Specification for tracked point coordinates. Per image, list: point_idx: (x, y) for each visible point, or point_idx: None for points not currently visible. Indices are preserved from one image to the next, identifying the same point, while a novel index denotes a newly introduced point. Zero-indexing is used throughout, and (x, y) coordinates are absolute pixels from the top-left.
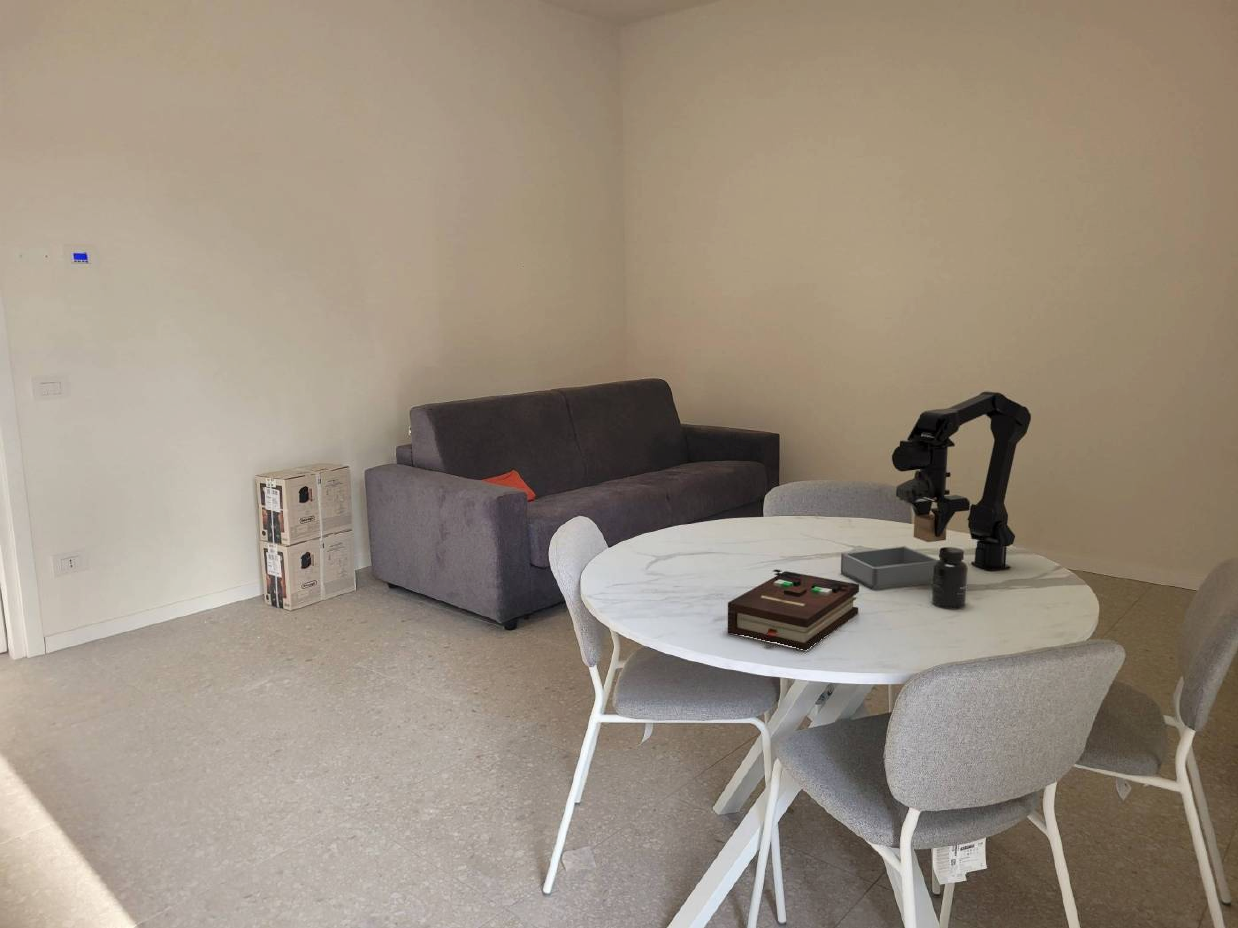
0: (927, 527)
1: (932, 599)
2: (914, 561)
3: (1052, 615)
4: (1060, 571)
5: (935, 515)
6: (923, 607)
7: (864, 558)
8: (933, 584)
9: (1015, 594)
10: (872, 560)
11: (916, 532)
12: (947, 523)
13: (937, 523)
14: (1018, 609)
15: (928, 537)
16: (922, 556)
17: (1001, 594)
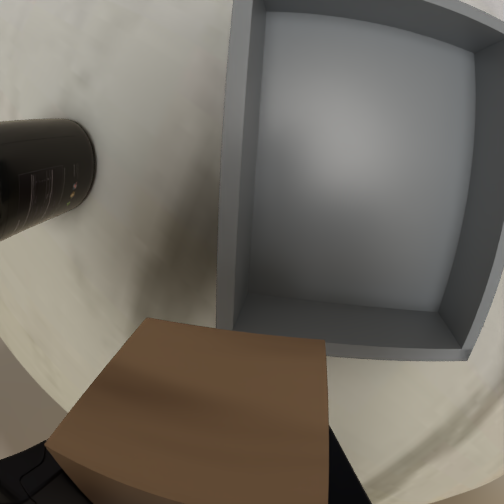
0: (97, 398)
1: (67, 120)
2: (380, 321)
3: (4, 310)
4: None
5: (11, 492)
6: (67, 80)
7: (495, 133)
8: (31, 120)
9: (94, 364)
10: (485, 176)
11: (284, 368)
12: None
13: (43, 444)
14: (22, 288)
15: (130, 341)
16: (331, 338)
17: (97, 343)
